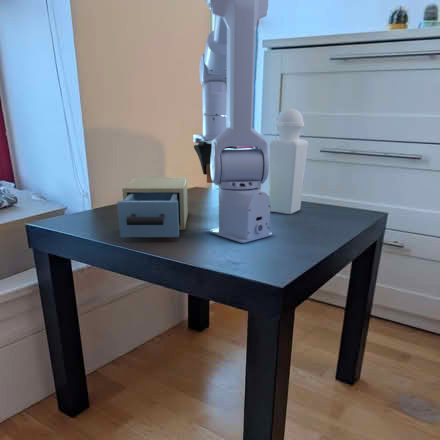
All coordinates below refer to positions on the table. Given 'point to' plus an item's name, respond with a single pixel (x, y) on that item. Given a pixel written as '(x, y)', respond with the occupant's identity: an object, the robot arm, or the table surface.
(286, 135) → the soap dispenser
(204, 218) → the table surface
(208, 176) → the block
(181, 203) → the drawer cabinet
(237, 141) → the robot arm
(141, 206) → the drawer
